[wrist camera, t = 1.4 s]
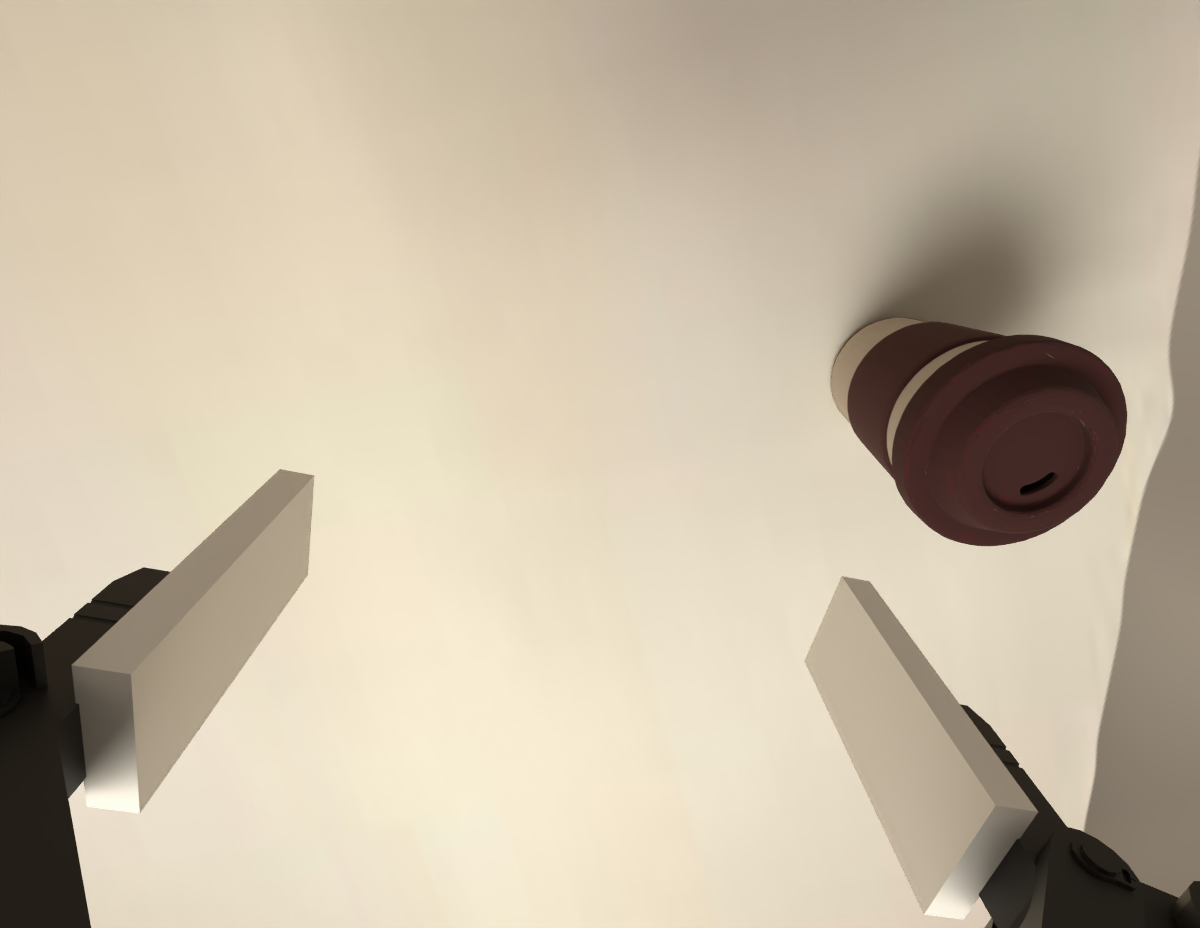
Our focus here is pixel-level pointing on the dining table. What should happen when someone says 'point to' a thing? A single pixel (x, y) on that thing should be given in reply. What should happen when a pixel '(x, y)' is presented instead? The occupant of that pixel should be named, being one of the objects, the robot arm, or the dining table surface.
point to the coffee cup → (982, 424)
